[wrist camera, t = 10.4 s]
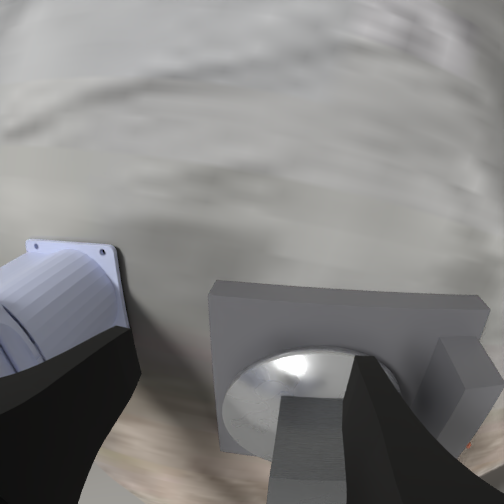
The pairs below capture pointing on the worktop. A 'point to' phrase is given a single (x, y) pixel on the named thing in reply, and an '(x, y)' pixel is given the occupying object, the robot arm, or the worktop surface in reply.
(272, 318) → the scale
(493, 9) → the worktop surface
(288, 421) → the block
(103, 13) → the worktop surface
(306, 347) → the pan
